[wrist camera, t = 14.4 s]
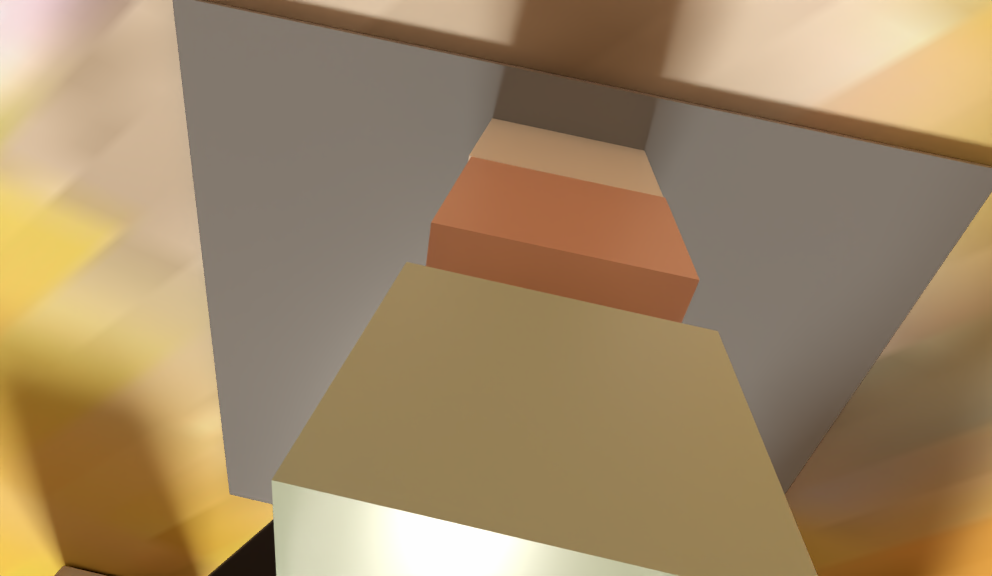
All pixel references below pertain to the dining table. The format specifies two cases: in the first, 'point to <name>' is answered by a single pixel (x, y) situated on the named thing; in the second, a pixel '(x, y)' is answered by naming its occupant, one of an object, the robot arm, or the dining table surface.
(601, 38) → the dining table surface
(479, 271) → the terracotta brick
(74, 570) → the coffee box
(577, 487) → the sage brick
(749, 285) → the baseplate
